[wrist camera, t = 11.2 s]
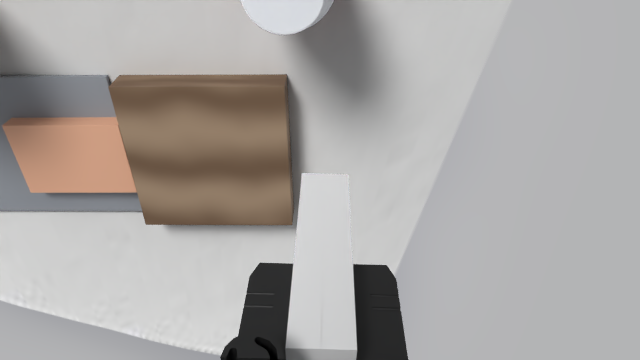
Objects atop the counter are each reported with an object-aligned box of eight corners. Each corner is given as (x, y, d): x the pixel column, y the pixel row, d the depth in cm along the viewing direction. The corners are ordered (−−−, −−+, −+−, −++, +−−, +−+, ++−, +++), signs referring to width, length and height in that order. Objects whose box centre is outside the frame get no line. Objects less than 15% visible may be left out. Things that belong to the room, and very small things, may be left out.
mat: (-126, 76, 41) (-130, 77, 40) (107, 75, 40) (105, 77, 40) (-53, 208, 48) (-55, 210, 48) (144, 208, 48) (142, 211, 48)
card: (11, 117, 42) (1, 125, 41) (124, 117, 42) (117, 125, 41) (39, 183, 46) (30, 192, 45) (142, 183, 46) (136, 192, 45)
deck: (119, 75, 40) (108, 87, 38) (286, 74, 40) (284, 86, 38) (153, 208, 48) (145, 224, 46) (293, 209, 48) (292, 225, 46)
